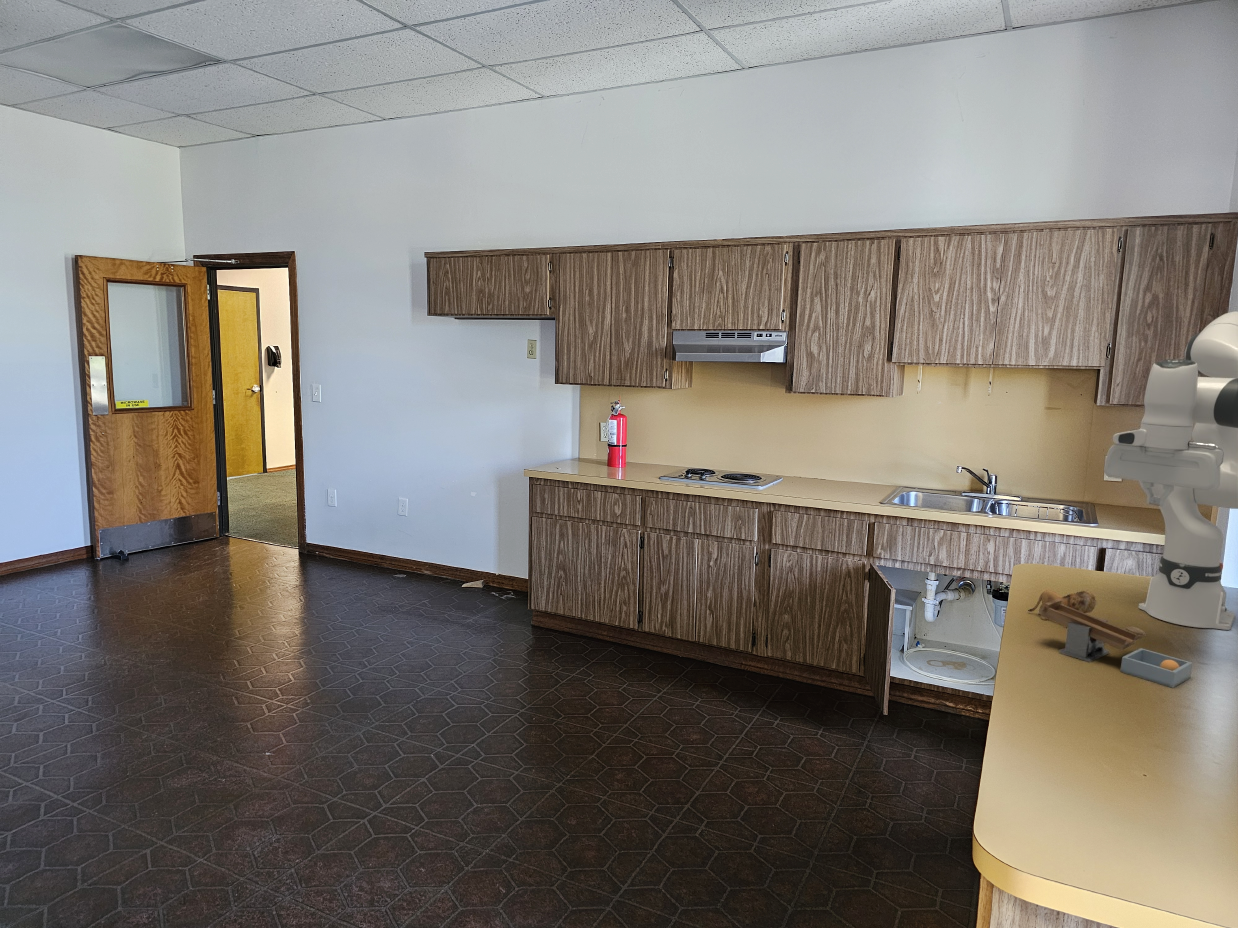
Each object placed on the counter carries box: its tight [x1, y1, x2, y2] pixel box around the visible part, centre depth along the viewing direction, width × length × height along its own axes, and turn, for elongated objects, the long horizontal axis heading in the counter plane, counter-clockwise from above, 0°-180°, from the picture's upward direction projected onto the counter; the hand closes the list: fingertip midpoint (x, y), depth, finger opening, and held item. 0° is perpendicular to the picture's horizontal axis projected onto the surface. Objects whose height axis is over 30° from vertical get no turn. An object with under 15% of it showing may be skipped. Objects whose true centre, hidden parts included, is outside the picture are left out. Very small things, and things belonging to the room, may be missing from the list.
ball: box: [1160, 660, 1179, 671], centre depth 155 cm, size 3×3×3 cm
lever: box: [1042, 599, 1147, 651], centre depth 169 cm, size 13×16×3 cm
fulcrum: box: [1058, 616, 1110, 663], centre depth 167 cm, size 9×6×7 cm, turn 127°
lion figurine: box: [1027, 589, 1098, 629], centre depth 186 cm, size 15×5×9 cm, turn 35°
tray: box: [1119, 647, 1193, 689], centre depth 157 cm, size 9×9×3 cm
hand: (1155, 505), depth 167 cm, fingers closed
